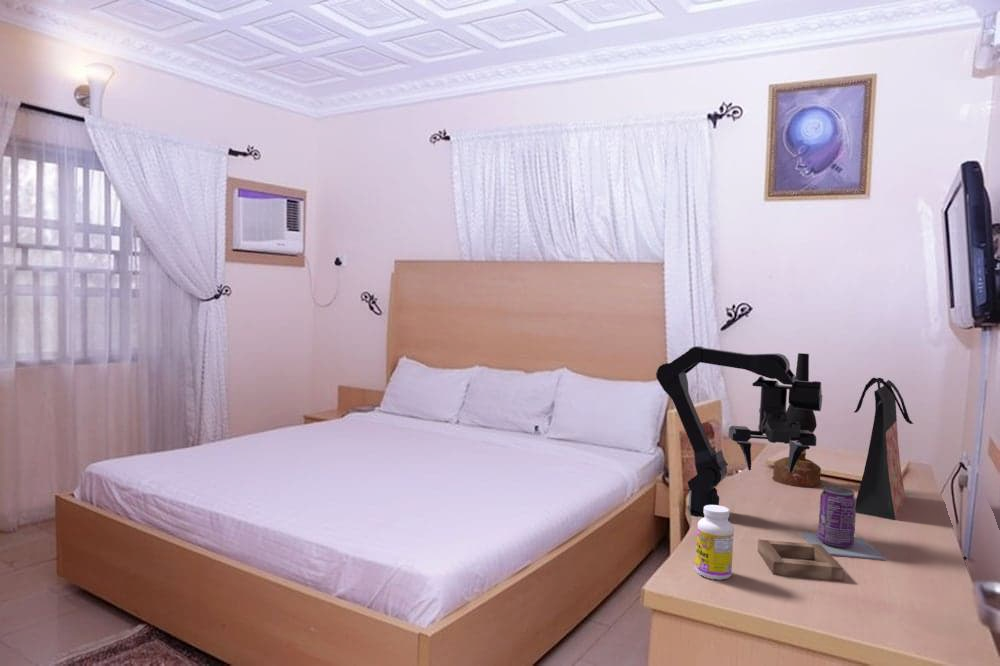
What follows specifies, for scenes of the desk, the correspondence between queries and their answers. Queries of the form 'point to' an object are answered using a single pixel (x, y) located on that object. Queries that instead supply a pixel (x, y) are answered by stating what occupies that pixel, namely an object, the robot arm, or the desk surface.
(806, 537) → the grey pad
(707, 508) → the supplement bottle
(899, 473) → the gift bag
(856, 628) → the desk surface
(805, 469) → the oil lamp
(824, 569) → the walnut collar
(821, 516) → the beverage can
